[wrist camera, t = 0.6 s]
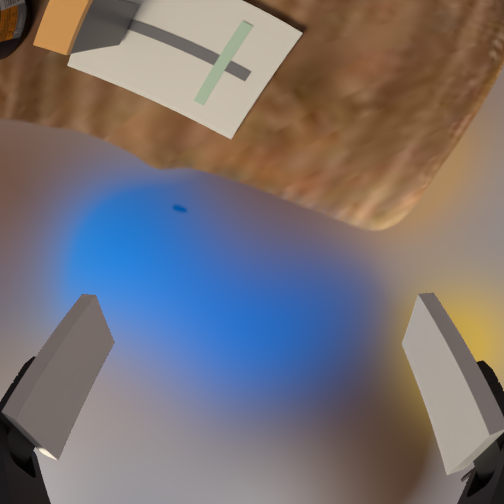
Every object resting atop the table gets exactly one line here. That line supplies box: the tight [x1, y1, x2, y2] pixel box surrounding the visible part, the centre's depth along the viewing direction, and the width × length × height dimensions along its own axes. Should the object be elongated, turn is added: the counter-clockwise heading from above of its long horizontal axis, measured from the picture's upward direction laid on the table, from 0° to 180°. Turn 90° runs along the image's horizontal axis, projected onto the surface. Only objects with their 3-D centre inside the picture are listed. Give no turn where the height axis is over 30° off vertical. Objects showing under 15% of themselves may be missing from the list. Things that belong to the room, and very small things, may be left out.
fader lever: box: [33, 0, 140, 55], centre depth 18 cm, size 5×4×10 cm
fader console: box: [67, 0, 303, 139], centre depth 24 cm, size 14×22×1 cm, turn 59°
